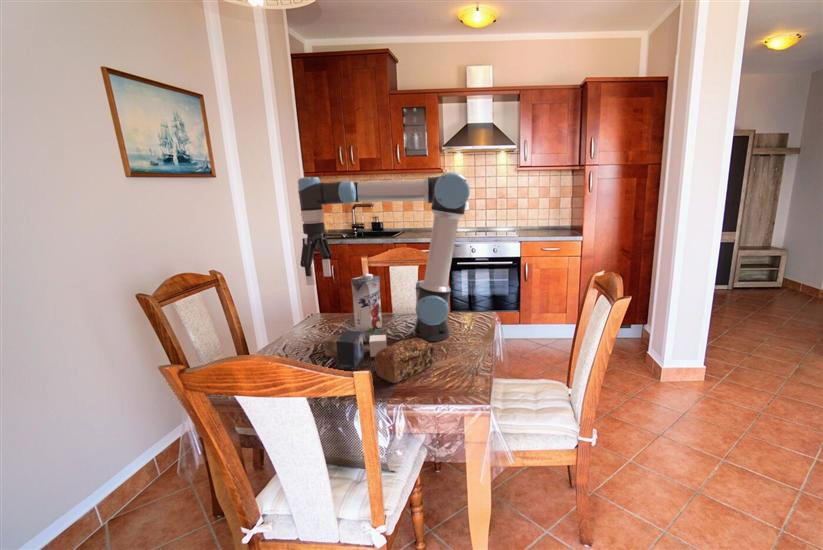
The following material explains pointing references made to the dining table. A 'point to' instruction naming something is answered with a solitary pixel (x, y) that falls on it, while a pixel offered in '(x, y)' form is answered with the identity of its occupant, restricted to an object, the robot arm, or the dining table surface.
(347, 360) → the small box
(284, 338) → the dining table surface
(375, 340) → the cream block
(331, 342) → the walnut block
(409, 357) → the bread
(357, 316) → the juice carton
